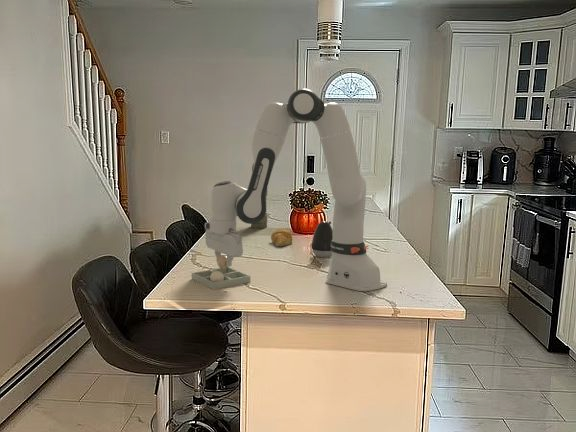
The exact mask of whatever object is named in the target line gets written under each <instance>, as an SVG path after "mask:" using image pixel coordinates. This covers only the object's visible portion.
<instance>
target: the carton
mask: <svg viewBox="0 0 576 432" xmlns="http://www.w3.org/2000/svg"><path fill="white" fill-rule="evenodd" d="M214 271H220V272H221V273H223V275H224V281H218V282H212V281H210V275H211V274H212V273H213V272H214ZM191 280H193V281H194V282H197V283H198V284H200V285H202V286H205V287H207V288H209V289H211V290H216V289H217V290H218V289H222V288H228V287H233V286H239V285H242V284H248V283H251V275H249V274H247V273H244V272H242V271H240V270H237V269H234V268H232V267H231V266H230V267H228V268H226V269H222V268H220V267H218V268H212V269H207V270H202V271H196V272H191Z"/></svg>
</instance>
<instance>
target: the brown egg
mask: <svg viewBox="0 0 576 432" xmlns="http://www.w3.org/2000/svg"><path fill="white" fill-rule="evenodd" d="M225 261H227V255H221V256H220V257H219V258H218V260H216V264H217V266H218V268H222V269H226V268H228V267H227V266H225Z"/></svg>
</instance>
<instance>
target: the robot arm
mask: <svg viewBox="0 0 576 432" xmlns="http://www.w3.org/2000/svg"><path fill="white" fill-rule="evenodd" d="M310 122H311V123H313V124H314V125H315V126H316V128H317V132H318V136H319V139H320V144H321V147H322V150H323V155H324V158H325V163H326V168H327V174H328V175H327V176H328V180H329V184H330V185H329V186H330V189H331V195H332V197H333V199H334V207H333V217H332V230H333V237H332V241H331V251H332V255H331V256H330V259H329V264H328V265H329V266H328V273H327V275H326V281H325V283H327V284H328V285H329V284H330V285H333V286H338V287H342V288H345V289H350V290H352V291H357V292H368V291H369V292H370V291H375V290H380V289H382V288H384V287H387V285H388V282H387V281H385V280H383V279H381V271H380V268H379V266H378V265H377V263H376V262H374V260H373V259H372V257H370V256H369V255H368V253H367V250H369V247H370V245H366V244H365V241H364V225H365V209H366V198H367V196H366V195H367V194H366V193H367V182H366V179H365V177H364V176H363V175H362V174H361V170H360V163H359V159H358V155H357V154H358V153H357V149H356V147H355V146H356V145H355V142H354V138H353V134H352V130H351V127H350V124H349V120H348V118H347V115H346V114H345V111H344V109H343V107H342V105H340V104H339V103H336V102H327V103H325V102H324V101H323V100H322V99H321V98H320V97H319V96H318V95H317V94H316V93H315V92H314V91H312V90H311V89H308V88H299V89H296V90H295V91H293V92H292V94H291V95H290V96H289V98H288V101H287V102H285V103H280V102H275V101H274V102H273V101H272V102H269V103H267V104H266V105H265V106H264V108H263V110H262V112H261V114H260V116H259V119H258V121H257V123H256V126H255V129H254V133H253V138H252V141H251V142H252V143H251V144H252V145H251V151H252V156H253V163H254V167H253V171H252V170H251V175H250V179H249V183H248V185H247V186H248V187H247V188H244V187H242V186H240V185H239V184H237V183H235V181H233V180H225V181H219V182H217V183H216V184H214V185H213V187H212V191H211V199H210V200H211V204H210V205H211V206H210V207H211V210H212V214H211V221H208V222H204V229H205V245H206V248H208V249H211V250H214V255H215V257H216V259H215V261H217V260H218V258H219V257H220V256H222V254H224V255H225V256H227V261H225V266H227V267H230V268H231V267H232V262H233V260H234V258H240V257H242V256H243V253H244V249H243V240H242V236H241V234H240V233H239V230H237V218H239V220H240V221H241V222H243V223H245V224H249V225H251V224H254V223H257V222H259V221H260V220H262V219H263V217H264V216H265V213H266V214H267V202H266V203H265V194H266V190H267V191H268V186H269V182H270V179H271V176H272V172H273V168H274V167H275V164H276V163H277V159H278V157H279V156H280V154H281V152H282V149H283V146H284V144H285V141H286V137H287V134H288V131H289V129H290V127H291V125H292V124H308V123H310Z"/></svg>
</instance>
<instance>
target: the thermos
mask: <svg viewBox="0 0 576 432" xmlns="http://www.w3.org/2000/svg"><path fill="white" fill-rule="evenodd" d="M253 167H254V162H253V164H252V166H251V172H252V171H253ZM267 196H268V189H267V190H266V194H265V203H266V204H267ZM252 227H253V228H252ZM265 227H266V228H267V227H268V214H267V212H266V213H265V216H264V217H263V219H262V220H260V221H259V222H257V223H254V224H250V228H252V229H266V228H265Z"/></svg>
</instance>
